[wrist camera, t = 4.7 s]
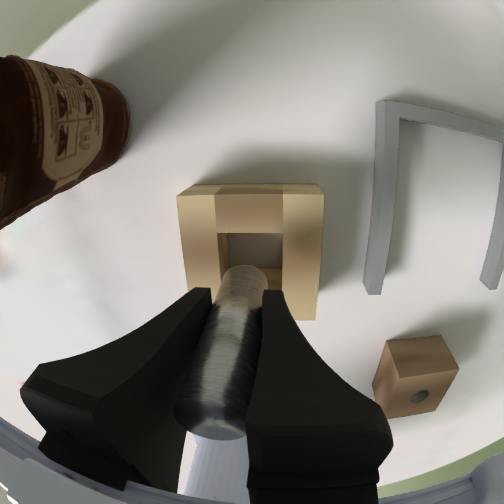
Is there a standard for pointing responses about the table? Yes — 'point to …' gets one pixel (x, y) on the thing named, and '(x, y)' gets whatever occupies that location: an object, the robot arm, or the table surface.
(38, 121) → the coffee cup
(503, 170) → the grey arch piece
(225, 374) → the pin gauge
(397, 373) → the walnut block
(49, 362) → the robot arm
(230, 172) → the table surface
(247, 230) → the oak block
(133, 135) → the table surface
